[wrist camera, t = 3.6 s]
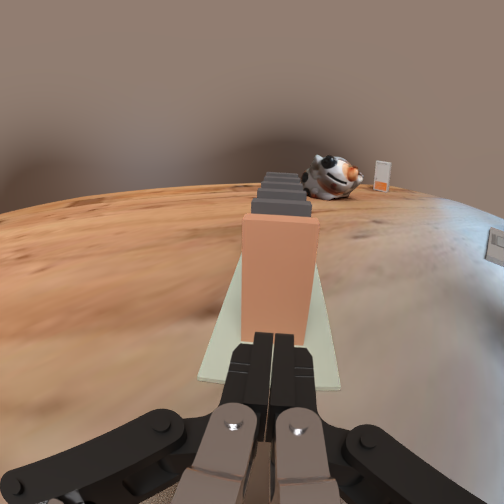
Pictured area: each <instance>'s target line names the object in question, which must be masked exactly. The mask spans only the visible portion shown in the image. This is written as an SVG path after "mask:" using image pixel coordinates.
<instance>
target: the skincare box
mask: <svg viewBox="0 0 504 504" xmlns="http://www.w3.org/2000/svg"><path fill="white" fill-rule="evenodd" d="M391 165H392V163H389V162H382V161H376V170H375V178H374V187H373V190H377V191H382V192H386V193H387V192H388V191H389V183H390V173H391Z"/></svg>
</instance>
